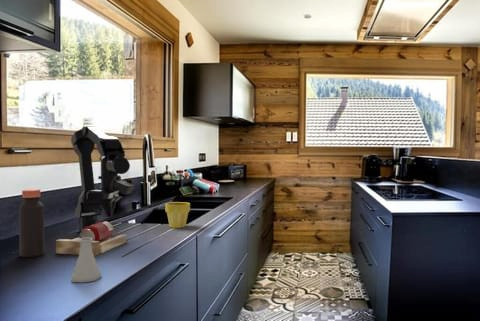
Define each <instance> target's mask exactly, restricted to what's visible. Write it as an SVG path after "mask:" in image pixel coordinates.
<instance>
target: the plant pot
mask: <svg viewBox="0 0 480 321" xmlns="http://www.w3.org/2000/svg"><path fill="white" fill-rule="evenodd" d="M164 210H165V213H166V215H167V219H168V225H169V226H168V227H170V228H171V229H181V227H182V228H185V227H186V225H187V220H188V215H189V212H191V203H190V202H185V201H184V202H182V201H181V202H180V201H173V202H166V203H165V209H164Z"/></svg>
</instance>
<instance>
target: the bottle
mask: <svg viewBox="0 0 480 321" xmlns="http://www.w3.org/2000/svg"><path fill="white" fill-rule="evenodd" d="M21 195H22V200H23V202H22V203H21V204H20V205H19V207H18V230H19V231H18V236H19V238H18V239H19V256H20V257H21V258H35V257H38V256H42V255H44V254H45V252H46V251H45V250H46V249H45V246H46V245H45V244H46V243H45V242H46V241H45V240H46V239H45V205H44V204H43V203H42V202H41V201H40V199H41V189H39V188H38V189H37V188H33V189H31V188H30V189H23V190H22V192H21Z"/></svg>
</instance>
